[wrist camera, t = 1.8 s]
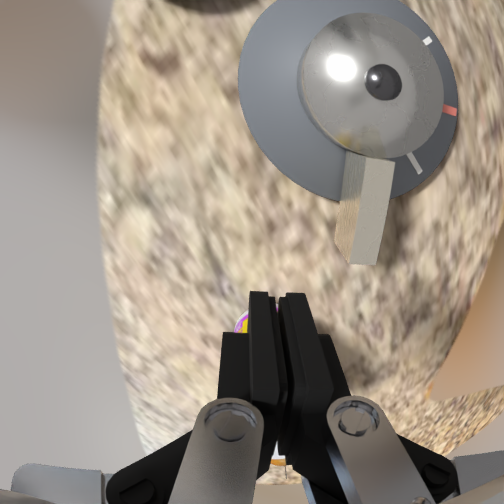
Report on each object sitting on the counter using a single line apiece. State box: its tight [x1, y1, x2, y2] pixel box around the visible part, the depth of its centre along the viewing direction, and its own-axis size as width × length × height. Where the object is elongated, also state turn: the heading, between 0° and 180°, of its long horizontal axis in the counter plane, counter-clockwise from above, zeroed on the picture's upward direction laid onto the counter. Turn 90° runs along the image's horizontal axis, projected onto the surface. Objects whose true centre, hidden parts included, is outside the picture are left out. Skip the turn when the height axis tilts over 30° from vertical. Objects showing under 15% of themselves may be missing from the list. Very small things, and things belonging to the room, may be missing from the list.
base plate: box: [238, 0, 458, 201], centre depth 20 cm, size 18×18×2 cm
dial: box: [297, 13, 444, 265], centre depth 19 cm, size 17×10×4 cm, turn 176°
